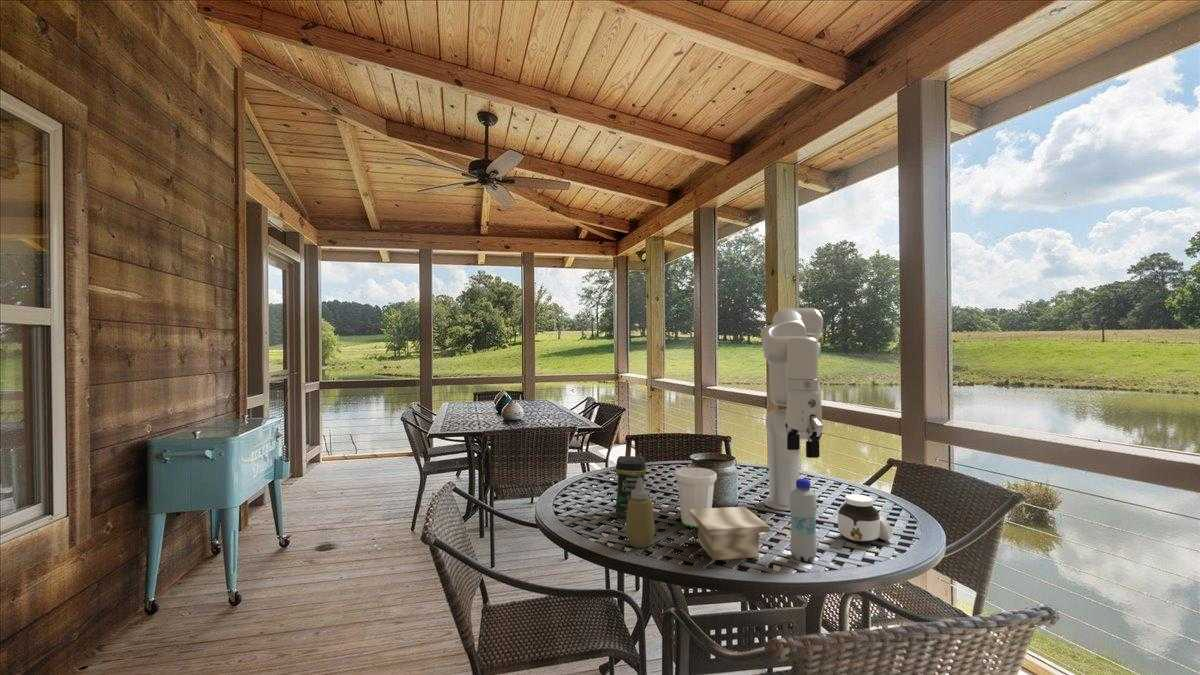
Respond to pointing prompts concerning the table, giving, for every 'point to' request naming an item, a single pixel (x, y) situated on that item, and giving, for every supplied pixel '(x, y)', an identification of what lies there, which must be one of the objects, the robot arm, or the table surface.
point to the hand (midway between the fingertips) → (802, 453)
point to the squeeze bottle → (640, 517)
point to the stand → (729, 532)
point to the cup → (694, 491)
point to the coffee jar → (628, 480)
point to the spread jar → (862, 521)
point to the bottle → (803, 521)
